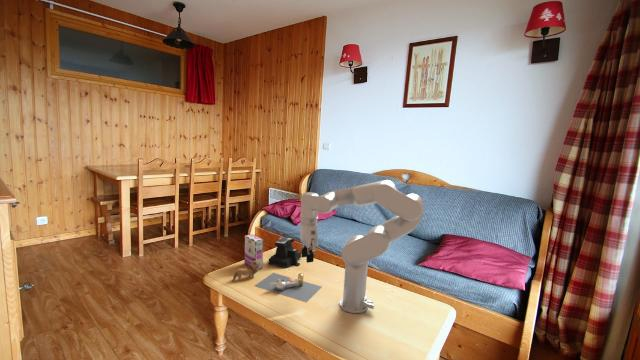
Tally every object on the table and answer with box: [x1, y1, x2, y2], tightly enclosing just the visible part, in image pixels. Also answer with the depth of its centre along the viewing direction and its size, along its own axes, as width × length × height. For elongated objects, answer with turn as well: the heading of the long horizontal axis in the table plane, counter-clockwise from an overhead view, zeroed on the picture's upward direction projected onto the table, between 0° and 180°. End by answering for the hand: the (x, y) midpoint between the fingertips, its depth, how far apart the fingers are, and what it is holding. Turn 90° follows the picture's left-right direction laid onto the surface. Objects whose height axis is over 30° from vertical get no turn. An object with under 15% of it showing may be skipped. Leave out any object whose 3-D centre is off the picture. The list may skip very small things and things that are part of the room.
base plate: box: [254, 272, 323, 303], centre depth 150 cm, size 28×16×1 cm, turn 64°
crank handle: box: [269, 273, 305, 291], centre depth 148 cm, size 16×6×5 cm, turn 114°
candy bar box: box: [244, 233, 264, 270], centre depth 171 cm, size 11×5×16 cm, turn 44°
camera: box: [268, 236, 302, 268], centre depth 178 cm, size 16×14×15 cm
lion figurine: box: [231, 261, 259, 283], centre depth 155 cm, size 15×5×9 cm, turn 130°
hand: (307, 259), depth 142 cm, fingers open, 5 cm apart
